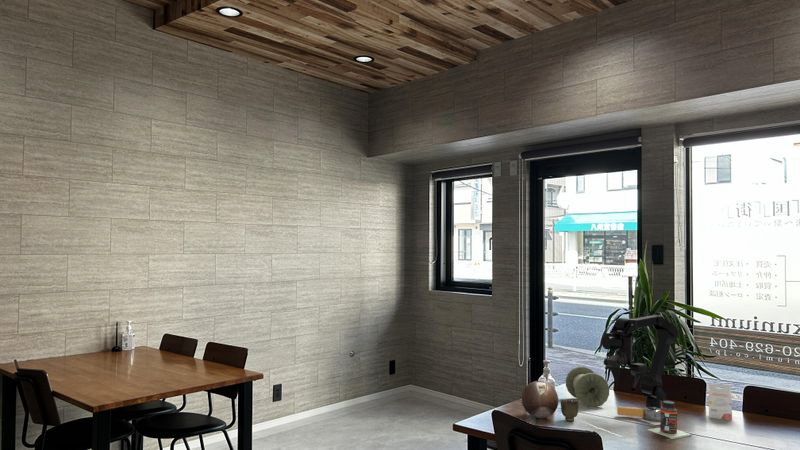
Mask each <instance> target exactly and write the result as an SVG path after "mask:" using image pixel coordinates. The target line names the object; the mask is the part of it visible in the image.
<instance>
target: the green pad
mask: <svg viewBox="0 0 800 450" xmlns="http://www.w3.org/2000/svg"><path fill="white" fill-rule="evenodd" d="M646 430H647V431H648V432H652V433H655V434H658V435H661V436H664V437H666V438H667V439H668V440H676V439H681V438H686V437H687V436H688V437H692V433H688V432H686V431H684V430H683V431H682V430H679V429H677V433H674V434H670V433H665V432H662V431H661V430H660V427H654V428H648V429H646ZM688 437H687V438H688Z"/></svg>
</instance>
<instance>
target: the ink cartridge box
mask: <svg viewBox="0 0 800 450" xmlns="http://www.w3.org/2000/svg"><path fill="white" fill-rule="evenodd" d="M719 387H720V388H719ZM731 387H732V386H731V385H730V384H723V383H711V382H710V383H708V390H707V391H708V392H707V394H708V417H709V418H710V419H711V418H713V419H719V420H727V421H731V420H732V421H733V408H732V406H733V405H732V391H731Z"/></svg>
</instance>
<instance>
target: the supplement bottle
mask: <svg viewBox="0 0 800 450" xmlns="http://www.w3.org/2000/svg"><path fill="white" fill-rule="evenodd" d="M659 426H660V430H661V431H662V432H665V433H670V434H674V433H677V430H678V409H677V408H676V407H675V402H674V401H671V400H662V407H661V409H660V424H659Z"/></svg>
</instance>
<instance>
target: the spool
mask: <svg viewBox="0 0 800 450" xmlns="http://www.w3.org/2000/svg"><path fill="white" fill-rule="evenodd" d="M565 388H566V390H567V392H568V393H569V394H570V395H571V396H572V397H574V398H575V399H577V401H578V403H579V404H581V405H582V406H584V407H587V408H589V407H590V408H592V409H593V408H594V409H595V408H599V407H601V406H603V405H604V404H605V403H607V400H608V399H609V396H610V386H609V384H608V381H607V380H606V379H605V378H604V377H603V376H601V375H600V374H598V373H595V372H594V371H593V370H592V369H591V368H589V367H586V366H577V367H573V368H571V370H570V371H569V372H568V373H567V375H566V378H565Z"/></svg>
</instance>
